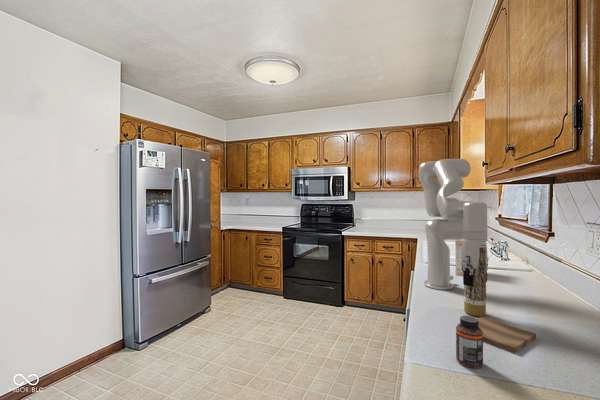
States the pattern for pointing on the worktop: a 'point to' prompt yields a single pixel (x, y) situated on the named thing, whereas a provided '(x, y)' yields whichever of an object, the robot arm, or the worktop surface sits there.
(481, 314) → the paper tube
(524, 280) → the worktop surface
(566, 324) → the worktop surface
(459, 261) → the coffeecake box
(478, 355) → the supplement bottle
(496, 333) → the board
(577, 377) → the worktop surface
